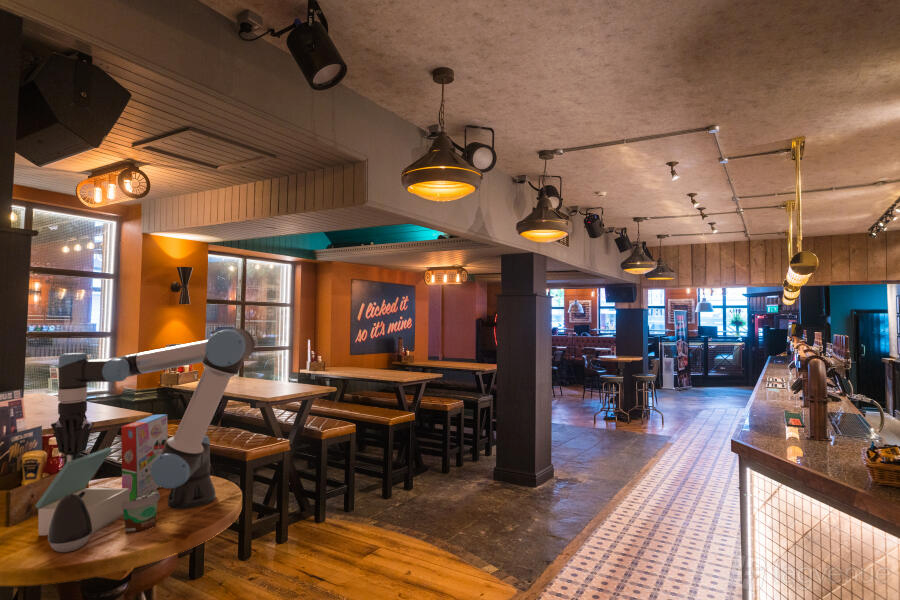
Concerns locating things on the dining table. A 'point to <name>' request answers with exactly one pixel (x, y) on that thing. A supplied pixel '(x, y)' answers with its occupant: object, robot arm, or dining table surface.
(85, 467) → the box lid
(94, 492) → the cream box
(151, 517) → the food container
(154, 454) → the game box
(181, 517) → the dining table surface
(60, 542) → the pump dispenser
